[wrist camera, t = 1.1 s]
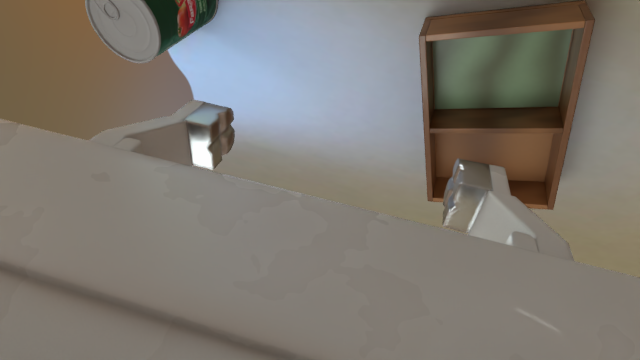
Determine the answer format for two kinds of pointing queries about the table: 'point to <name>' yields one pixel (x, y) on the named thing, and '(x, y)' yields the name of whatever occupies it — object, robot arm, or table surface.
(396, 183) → the table surface
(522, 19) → the tray
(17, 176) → the robot arm
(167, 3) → the canned tomato
